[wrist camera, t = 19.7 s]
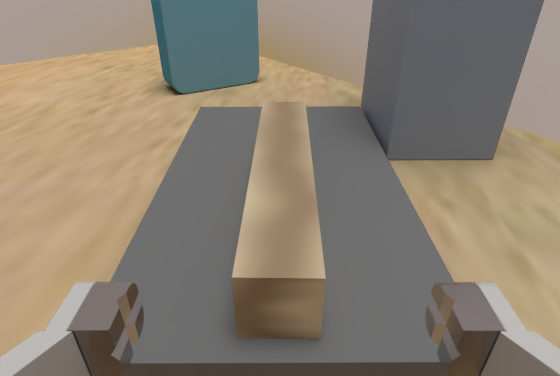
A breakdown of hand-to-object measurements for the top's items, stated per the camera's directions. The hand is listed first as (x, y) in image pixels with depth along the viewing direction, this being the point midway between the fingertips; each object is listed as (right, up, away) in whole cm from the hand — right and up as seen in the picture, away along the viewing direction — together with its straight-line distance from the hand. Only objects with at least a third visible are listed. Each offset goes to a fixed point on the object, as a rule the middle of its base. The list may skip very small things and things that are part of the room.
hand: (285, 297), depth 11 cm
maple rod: (0, +2, +14) cm, 14 cm away
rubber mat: (0, +3, +18) cm, 18 cm away
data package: (-9, +17, +41) cm, 45 cm away
